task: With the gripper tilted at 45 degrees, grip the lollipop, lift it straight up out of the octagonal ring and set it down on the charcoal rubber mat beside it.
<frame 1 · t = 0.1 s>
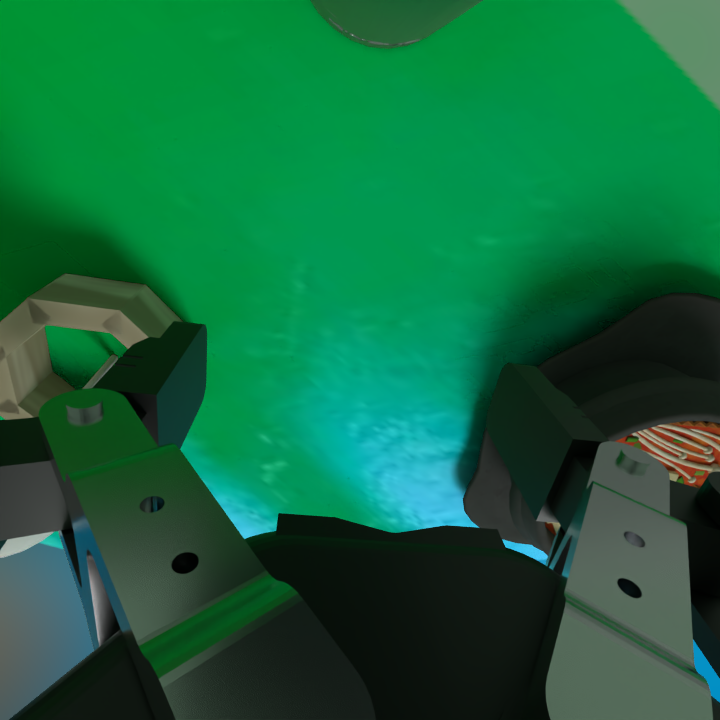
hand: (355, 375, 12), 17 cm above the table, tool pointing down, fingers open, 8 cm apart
casserole: (586, 423, 36), on the table
lollipop: (115, 356, 31), resting in octagonal ring
octagonal ring: (114, 357, 31), on the table
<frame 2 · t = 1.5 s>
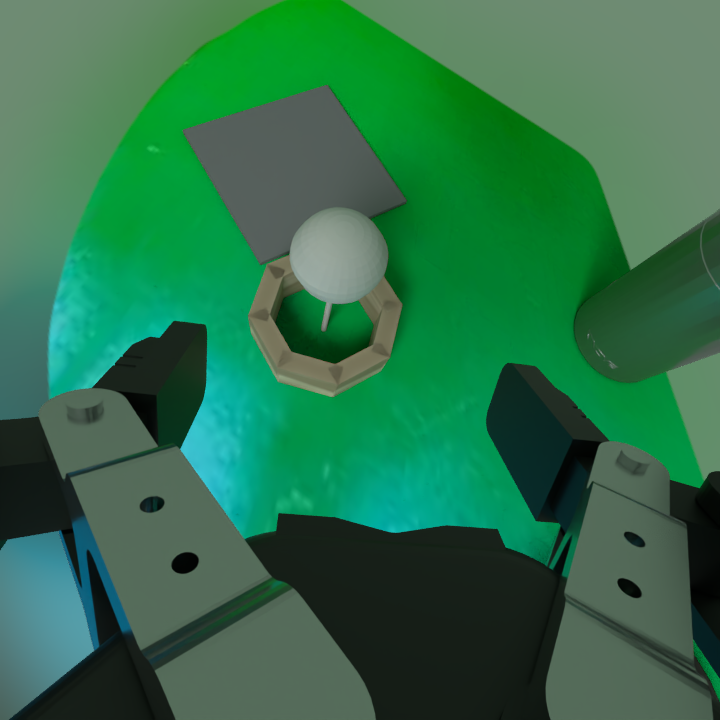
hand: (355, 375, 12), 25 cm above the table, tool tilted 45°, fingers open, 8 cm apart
mat: (296, 168, 44), on the table
lollipop: (323, 329, 40), resting in octagonal ring
octagonal ring: (323, 328, 39), on the table
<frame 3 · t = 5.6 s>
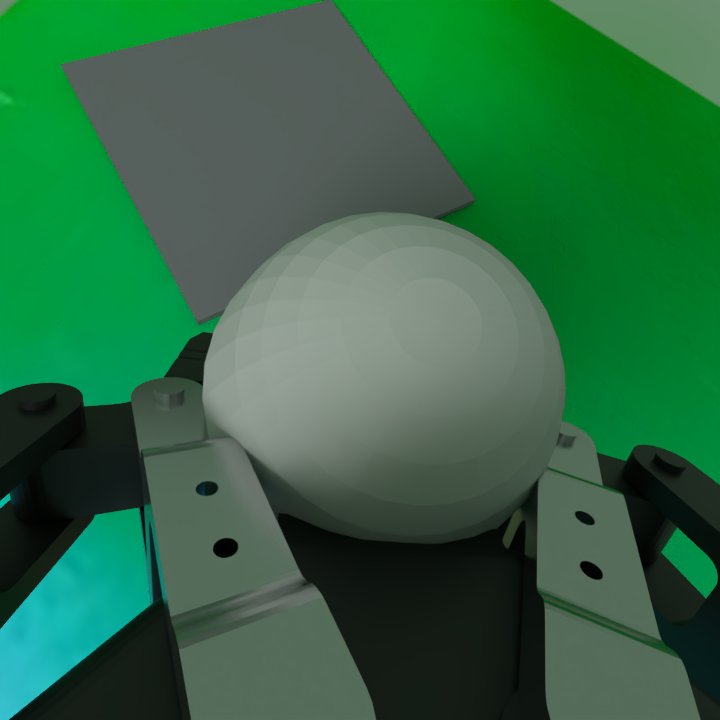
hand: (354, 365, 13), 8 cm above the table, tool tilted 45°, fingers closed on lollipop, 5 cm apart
mat: (275, 139, 24), on the table
lollipop: (324, 459, 19), resting in octagonal ring, touching gripper
when the fingers open (9 cm above the table, at t = 13.9 s): lollipop moves 1 cm, resting on mat.
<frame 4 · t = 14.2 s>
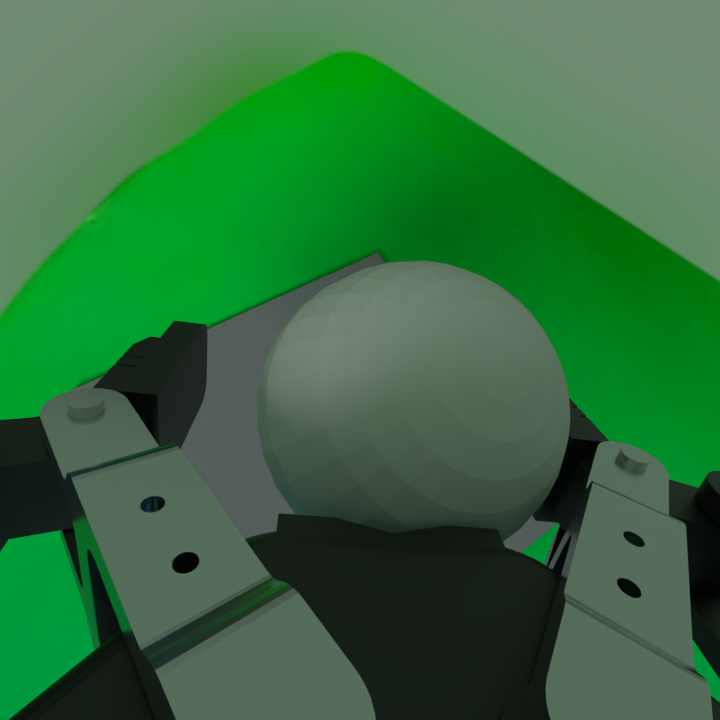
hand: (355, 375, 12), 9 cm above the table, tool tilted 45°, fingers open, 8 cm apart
mat: (320, 461, 20), on the table
lollipop: (281, 471, 20), resting on mat, touching gripper
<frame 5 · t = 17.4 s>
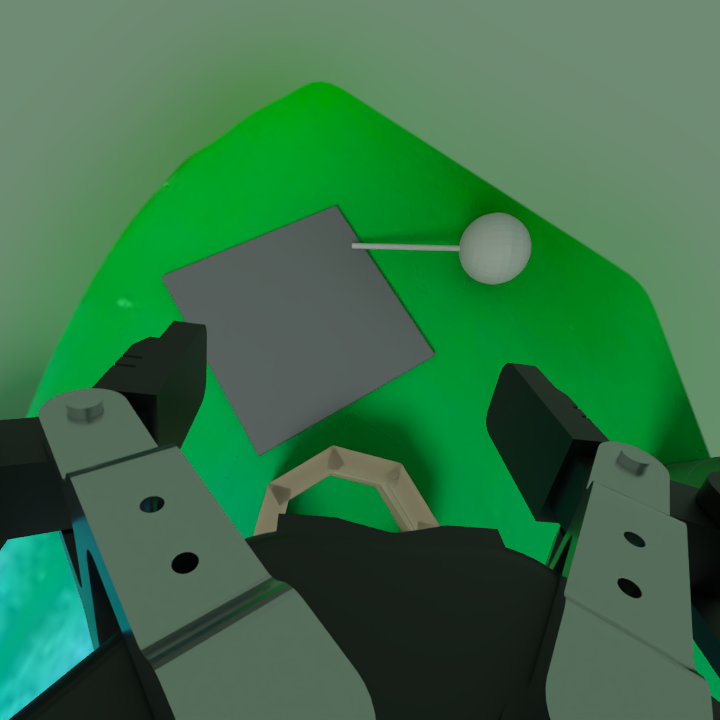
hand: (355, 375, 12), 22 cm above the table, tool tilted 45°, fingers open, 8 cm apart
mat: (301, 318, 36), on the table
lollipop: (349, 245, 38), point 1 cm above the table
octagonal ring: (339, 541, 32), on the table
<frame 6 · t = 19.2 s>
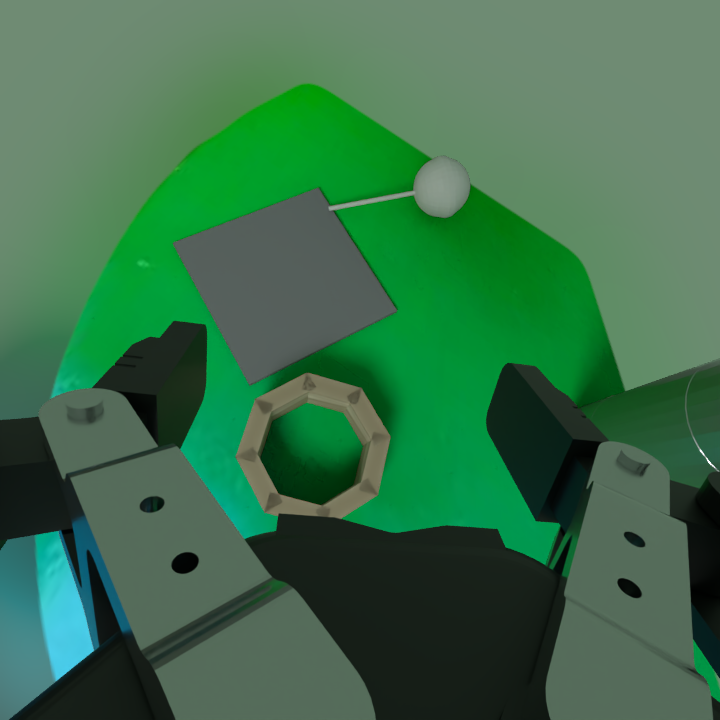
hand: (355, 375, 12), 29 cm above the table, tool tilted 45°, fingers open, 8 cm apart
mat: (286, 279, 44), on the table
lollipop: (326, 209, 47), point 1 cm above the table
octagonal ring: (312, 452, 39), on the table
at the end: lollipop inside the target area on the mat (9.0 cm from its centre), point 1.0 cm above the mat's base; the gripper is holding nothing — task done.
